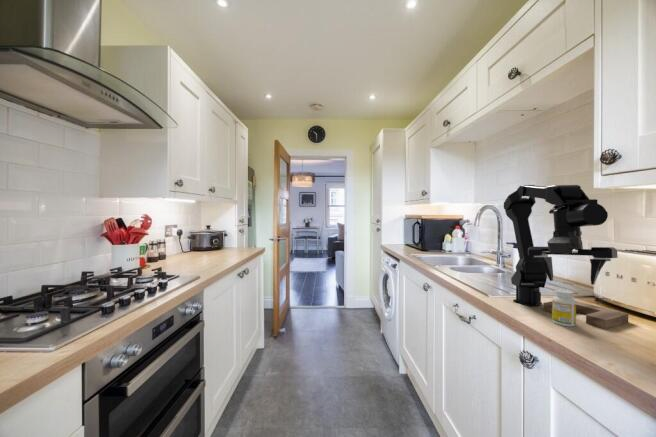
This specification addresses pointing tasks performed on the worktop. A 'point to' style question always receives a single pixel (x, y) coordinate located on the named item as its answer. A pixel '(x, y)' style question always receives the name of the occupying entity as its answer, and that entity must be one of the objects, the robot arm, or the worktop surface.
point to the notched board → (596, 315)
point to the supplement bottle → (564, 308)
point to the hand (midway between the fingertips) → (571, 282)
